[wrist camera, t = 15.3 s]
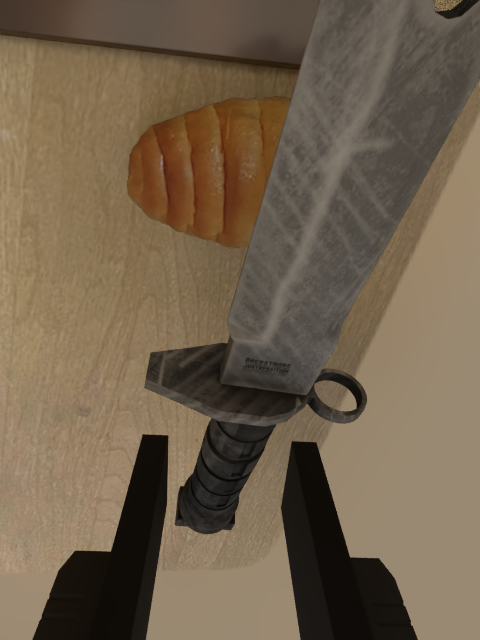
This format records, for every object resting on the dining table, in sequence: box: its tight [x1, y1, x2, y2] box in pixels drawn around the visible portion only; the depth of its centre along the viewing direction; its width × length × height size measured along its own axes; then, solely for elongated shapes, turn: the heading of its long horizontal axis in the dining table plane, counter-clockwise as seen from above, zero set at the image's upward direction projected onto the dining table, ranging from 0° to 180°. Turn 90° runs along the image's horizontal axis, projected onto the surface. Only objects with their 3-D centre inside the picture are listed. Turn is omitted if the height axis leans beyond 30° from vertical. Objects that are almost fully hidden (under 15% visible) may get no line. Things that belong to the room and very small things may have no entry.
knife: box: [144, 0, 480, 534], centre depth 9 cm, size 19×2×5 cm
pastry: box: [127, 96, 291, 249], centre depth 20 cm, size 9×7×4 cm
